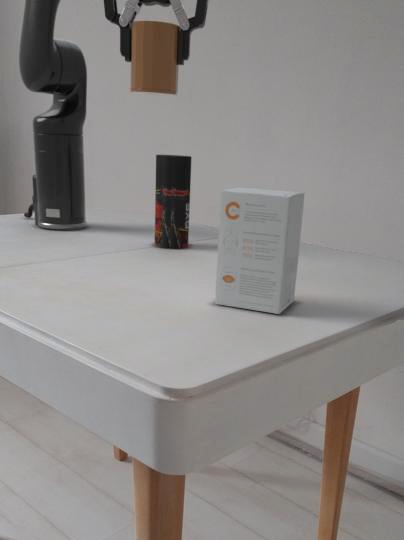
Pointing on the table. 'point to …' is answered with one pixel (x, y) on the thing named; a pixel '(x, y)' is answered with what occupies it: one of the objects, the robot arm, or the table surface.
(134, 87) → the cup
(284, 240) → the small box
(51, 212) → the robot arm
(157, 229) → the deodorant
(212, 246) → the table surface
